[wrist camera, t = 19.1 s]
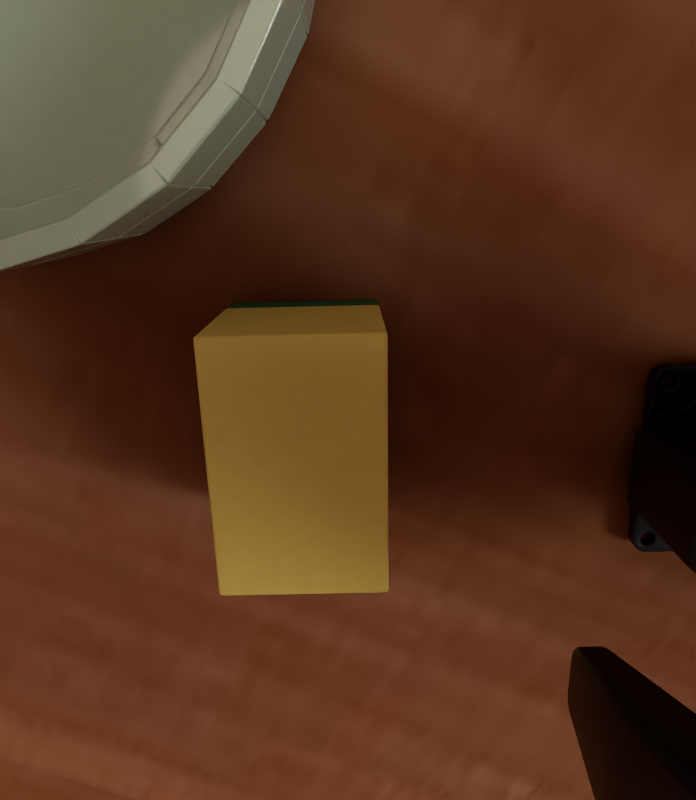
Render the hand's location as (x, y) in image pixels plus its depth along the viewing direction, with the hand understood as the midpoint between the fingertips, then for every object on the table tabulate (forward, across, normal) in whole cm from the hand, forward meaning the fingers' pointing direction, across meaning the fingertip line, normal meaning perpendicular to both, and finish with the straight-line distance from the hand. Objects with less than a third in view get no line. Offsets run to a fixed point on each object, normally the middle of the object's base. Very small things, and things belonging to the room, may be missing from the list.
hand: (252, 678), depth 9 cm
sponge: (+12, 0, 0) cm, 12 cm away
